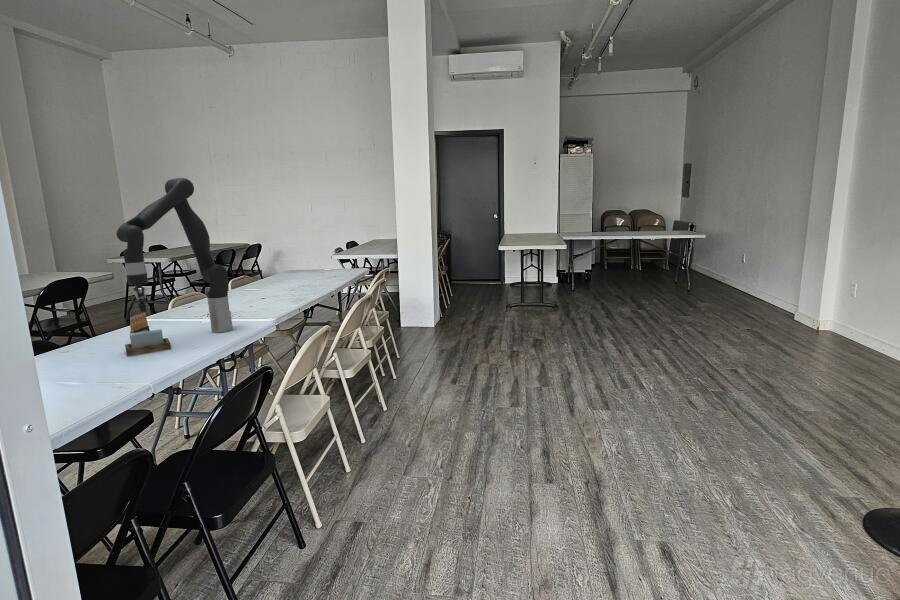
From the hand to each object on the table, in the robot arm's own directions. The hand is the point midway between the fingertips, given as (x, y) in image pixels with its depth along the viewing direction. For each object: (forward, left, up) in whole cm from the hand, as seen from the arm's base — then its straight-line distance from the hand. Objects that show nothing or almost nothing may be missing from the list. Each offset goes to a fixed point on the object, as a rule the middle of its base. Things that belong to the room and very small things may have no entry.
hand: (142, 310), depth 219 cm
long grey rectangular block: (0, 0, -17) cm, 17 cm away
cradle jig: (0, 0, -18) cm, 18 cm away
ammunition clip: (+1, -26, -18) cm, 32 cm away
